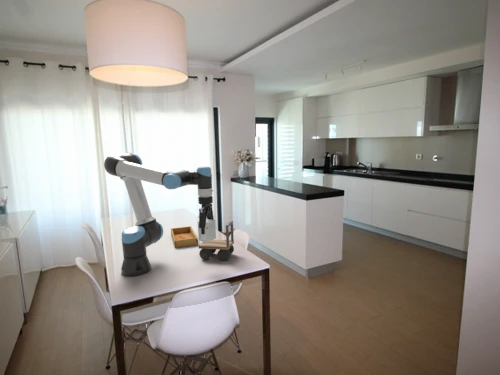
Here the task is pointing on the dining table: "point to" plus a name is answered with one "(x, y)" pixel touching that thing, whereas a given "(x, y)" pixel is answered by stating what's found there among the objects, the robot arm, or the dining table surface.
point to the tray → (183, 237)
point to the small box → (208, 230)
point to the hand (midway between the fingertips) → (207, 236)
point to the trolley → (218, 246)
